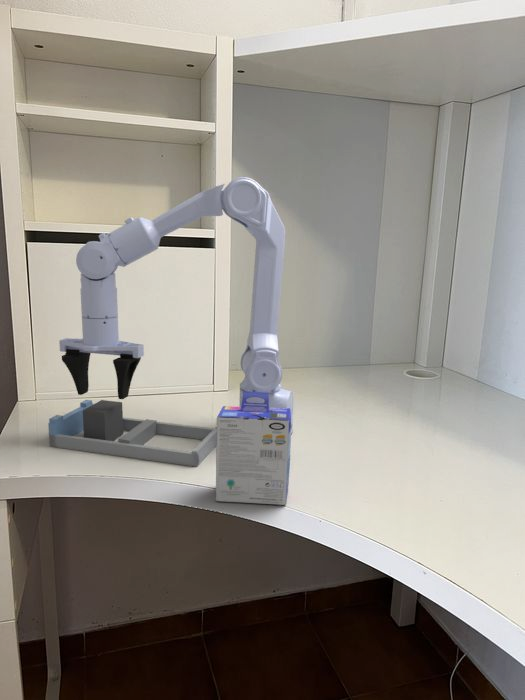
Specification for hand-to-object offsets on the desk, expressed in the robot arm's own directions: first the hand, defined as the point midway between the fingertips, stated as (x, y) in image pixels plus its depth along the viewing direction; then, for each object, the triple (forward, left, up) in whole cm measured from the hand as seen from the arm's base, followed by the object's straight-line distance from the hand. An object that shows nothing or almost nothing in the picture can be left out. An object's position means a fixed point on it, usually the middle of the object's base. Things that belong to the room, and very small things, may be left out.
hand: (103, 395), depth 93 cm
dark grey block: (0, 0, -8) cm, 8 cm away
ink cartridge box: (-30, +12, -8) cm, 33 cm away
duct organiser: (-6, 0, -8) cm, 10 cm away
